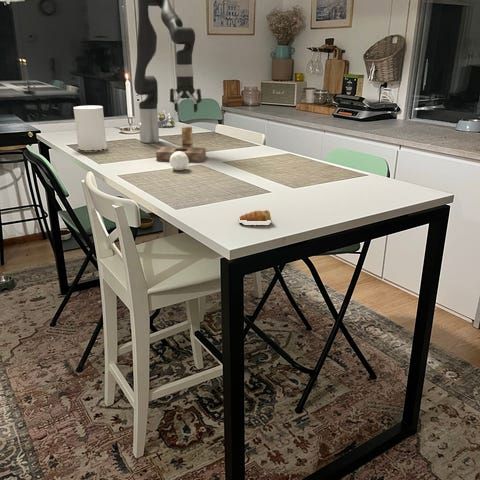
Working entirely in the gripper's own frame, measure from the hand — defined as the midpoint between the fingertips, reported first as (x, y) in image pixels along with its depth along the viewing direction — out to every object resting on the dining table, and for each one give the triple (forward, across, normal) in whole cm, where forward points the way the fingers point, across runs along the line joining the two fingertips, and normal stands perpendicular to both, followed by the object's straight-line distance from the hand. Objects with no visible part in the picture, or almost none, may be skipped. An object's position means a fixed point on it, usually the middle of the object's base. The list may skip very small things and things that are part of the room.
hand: (186, 112), depth 226 cm
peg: (+19, 0, 0) cm, 19 cm away
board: (+19, 0, -13) cm, 23 cm away
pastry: (+20, +41, -94) cm, 105 cm away
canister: (+19, -49, +4) cm, 53 cm away
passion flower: (+19, -32, +77) cm, 85 cm away
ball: (+19, +4, -34) cm, 39 cm away
